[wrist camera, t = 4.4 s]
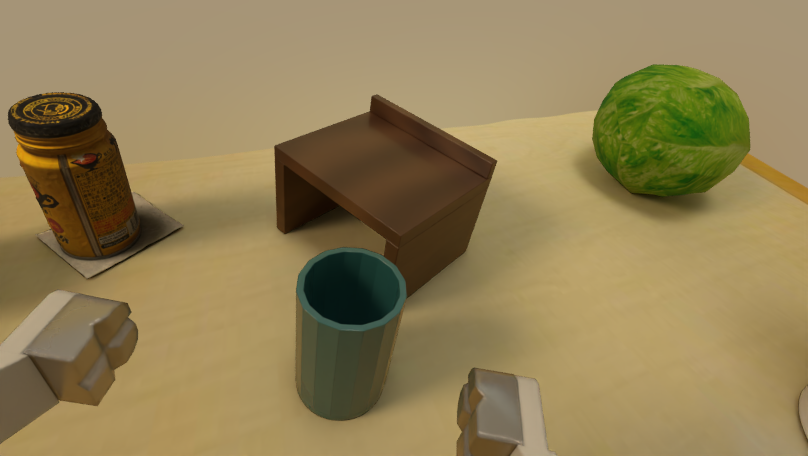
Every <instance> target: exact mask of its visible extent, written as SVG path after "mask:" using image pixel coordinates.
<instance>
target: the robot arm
mask: <svg viewBox="0 0 808 456" xmlns="http://www.w3.org/2000/svg"><path fill="white" fill-rule="evenodd" d="M130 313H131V310H130V308H129V305H128V303H125V302H119V301H114V300H109V299H104V298H99V297H93V296H88V295H84V294H80V293H74V292H69V291H63V290H56V291H54V292H52V293H50V294H48V295H47V296H46V297H45V298H44V299H43V300H42V302H41V303H40V304H39V305H38V306H37V307H36V308H35V309H34V310H33V311H32V312H31V313H30V314H29V315H28V316H27V317H26V318H25V319H24V320H23V321H22V323H21V324H20V325H19V326H18V327H17V328H16V329H15V330H14V331H13V332H12V333H11V334H10V335H9V336H8V337H7V338H6V339H5V340H4V341H3V342H2V344H1V345H0V444H1V443H2V442H4V441H5V440H7V439H8V438H9V437H11V436H12V435H14V434H15V433H17V432H18V431H19V430H21V429H22V428H24V427H25V426H27V425H28V424H29V423H31V422H32V421H34V420H35V419H37V418H38V417H39V416H41V415H42V414H44V413H45V412H47V411H48V410H49V409H51V408H52V407H54V406H55V405H57V404H58V403H59V401H58V400H60V401H67V402H73V403H80V404H86V405H93V406H98V405H99V403H100V402H101V400H102V399H103V397H104V396H105V394H106V393H107V391H108V390H109V388H110V387H111V385H112V384H113V382H114V381H115V372H114V370H115V369H117V368H118V367H120V366H122V365H123V364H125V363H127V361H128V360H129V358H130V356H131V355H132V353H133V352H134V349H135V346H136V343H137V340H138V329H137V326H136V324H135V323H134V322H133V321H132V320H131V319H129V318H128V316H129V315H130ZM799 415H800V420H801V424H802V427H803V429H804V432H805V435H806V437H807V439H808V385H807V386H806V387H805V388H804V389H803V391H802V393H801V395H800V398H799ZM457 424H458V426H459V428H460V429H461V431H462V433H461V435H460V437H459V438H458V440H457V456H557V454H556V453H555V452H553V451H549V450H548V444H547V437H546V430H545V423H544V416H543V409H542V402H541V395H540V388H539V384H538V382H537V380H536V379H534V378H529V377H523V376H517V375H514V374H509V373H503V372H497V371H491V370H485V369H479V368H472V369H471V371H470V373H469V375H468V383H467V384H465V385H463V388H462V390H461V392H460V397H459V401H458V409H457Z"/></svg>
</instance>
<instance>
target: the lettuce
mask: <svg viewBox="0 0 808 456" xmlns="http://www.w3.org/2000/svg"><path fill="white" fill-rule="evenodd" d="M592 140H593V143H594V147H595V151H596V155H597V158H598V159H599V160H600V162H601V163H602V165H603V166H604V167H605V169H606V170H607V171H608V172H609V173H610V174H611V175H612V176H613V177H614V178H615V179H616V180H617V181H619V182H620V183H621V184H622V185H623V186H624V187H625V188H626V189H627V190H628V191H629V192H630V193H643V194H654V195H657V196H661V197H665V196H676V195H685V194H691V193H702V192H706V191H708V190H709V189H710V188H712V187H713V186H715V185H716V184H717V183H719V182H720V181H721V180H723V179H724V178H726V177H727V176H728V175H730V174H731V173H732V172H734V171H735V169H736V168H737V167H738V165H739V164H740V163H741V161H742V160H743V159H744V157H745V156H746V155H747V153H748V152H749V151H750V132H749V118H748V116H747V114H746V112H745V110H744V108H743V105H742V103H741V101H740V99H739V97H738V95H737V93H735V92H734V91H733V90H732V89H731V88H730V87H728V86H727V85H726V84H725V83H724V82H723V81H722V80H721V79H720V78H717V77H715V76H713V75H710V74H708V73H705V72H703V71H700V70H698V69H694V68H690V67H686V66H679V65H651V66H649V67H647V68H644V69H642V70H639V71H637V72H635V73H633V74H631V75H628V76H626V77H624V78H622V79H621V80H619V81H618V82H616V83H615V84H614V86H613V87H612V89H611V90H610V92H609V93H608V94H607V96H606V97H605V98H604V100H603V102H602V104H601V106H600V108H599V110H598V112H597V114H596V117H595V119H594V127H593V137H592Z"/></svg>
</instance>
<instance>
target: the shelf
mask: <svg viewBox="0 0 808 456" xmlns="http://www.w3.org/2000/svg"><path fill="white" fill-rule="evenodd" d="M274 148H275V179H276V211H277V228H278V229H279V230H281V231H282V232H283V233H284V234H286V233H288V232H290V231H291V230H293V229H295V228H297V227H299V226H301V225H303V224H305V223H307V222H309V221H311V220H313V219H315V218H316V217H318V216H320V215H322V214H324V213H326V212H328V211H330V210H332V209H334V208H336V207H338V206H342V207H343V208H344V209H346V210H347V211H348V212H350V213H351V214H352V215H354V216H355V217H357V218H358V219H359V220H361V221H362V222H363V223H365V224H366V225H368V226H369V227H370V228H372V229H373V230H374V231H376V232H377V233H379V234H380V235H381V236H383V237H384V238H385V239H387V241H386V246H385V252H384V257H385V258H386V259H388V260H389V261H390V262H392V263H393V264H394V265H396V266H397V268H398V270H399V271H400V273H401V274H402V276H403V278H404V279H405V282H406V292H407V297H409V296H410V295H411V294H412V293H414V292H415V291H416V290H417V289H419V288H420V287H421V286H422V285H424V284H425V283H426V282H427V281H429V280H430V279H431V278H432V277H434V276H435V275H436V274H437V273H439V272H440V271H441V270H442V269H444V268H445V267H446V266H447V265H449V264H450V263H451V262H452V261H454V260H455V259H456V258H457V257H459V256H460V255H461V254H462V253H464V252H465V251H466V249H467V246H468V243H469V240H470V238H471V235H472V232H473V229H474V226H475V223H476V220H477V218H478V215H479V212H480V209H481V206H482V203H483V200H484V197H485V195H486V192H487V189H488V186H489V184H490V181H491V178H492V175H493V172H494V169H495V166H496V163H497V160H495V159H493V158H491V157H490V156H488V155H486V154H484V153H482V152H481V151H479V150H477V149H475V148H473V147H471V146H470V145H468V144H466V143H464V142H462V141H461V140H459V139H457V138H455V137H453V136H452V135H450V134H448V133H446V132H444V131H443V130H441V129H439V128H437V127H435V126H433V125H432V124H430V123H428V122H426V121H424V120H423V119H421V118H419V117H417V116H415V115H414V114H412V113H410V112H408V111H406V110H404V109H403V108H401V107H399V106H397V105H395V104H393V103H391V102H390V101H388V100H386V99H385V98H383V97H381V96H379V95H374V96H372V98H371V106H370V111H369V112H367V113H364V114H361V115H358V116H356V117H353V118H350V119H347V120H344V121H342V122H339V123H336V124H333V125H331V126H328V127H325V128H322V129H320V130H317V131H314V132H311V133H309V134H306V135H303V136H300V137H297V138H295V139H292V140H289V141H286V142H283V143H281V144H278V145H275V147H274Z"/></svg>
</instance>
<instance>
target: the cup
mask: <svg viewBox="0 0 808 456" xmlns="http://www.w3.org/2000/svg"><path fill="white" fill-rule="evenodd" d="M406 298H407V292H406V282H405V279H404V278H403V276H402V274H401V273H400V271H399V270H398V268H397V266H396V265H394V264H393V263H392V262H390V261H389V260H388V259H386V258H385V257H384V256H382V255H380V254H377V253H375V252H372V251H369V250H366V249H363V248H349V247H342V248H338V249H333V250H328V251H325V252H323V253H321V254H319V255H317V256H316V257H314V258H312V259H311V260H309V261H308V262H307V264H306V265H305V266H304V268H303V269H302V270H301V272H300V273H299V275H298V281H297V288H296V385H297V391H298V394H299V396H300V398H301V400H302V402H303V403H304V404H305V405H306V407H307V408H309V409H310V410H311V411H312V412H314V413H315V414H317V415H319V416H321V417H323V418H326V419H331V420H348V419H353V418H356V417H358V416H360V415H363V414H364V413H366V412H367V411H369V410H370V409H371V408H372V407H373V406H374V405H375V404H376V402H377V401H378V399H379V398H380V395H381V393H382V390H383V387H384V384H385V381H386V377H387V373H388V369H389V366H390V362H391V358H392V354H393V350H394V346H395V342H396V338H397V334H398V330H399V326H400V322H401V318H402V314H403V310H404V306H405V302H406Z"/></svg>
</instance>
